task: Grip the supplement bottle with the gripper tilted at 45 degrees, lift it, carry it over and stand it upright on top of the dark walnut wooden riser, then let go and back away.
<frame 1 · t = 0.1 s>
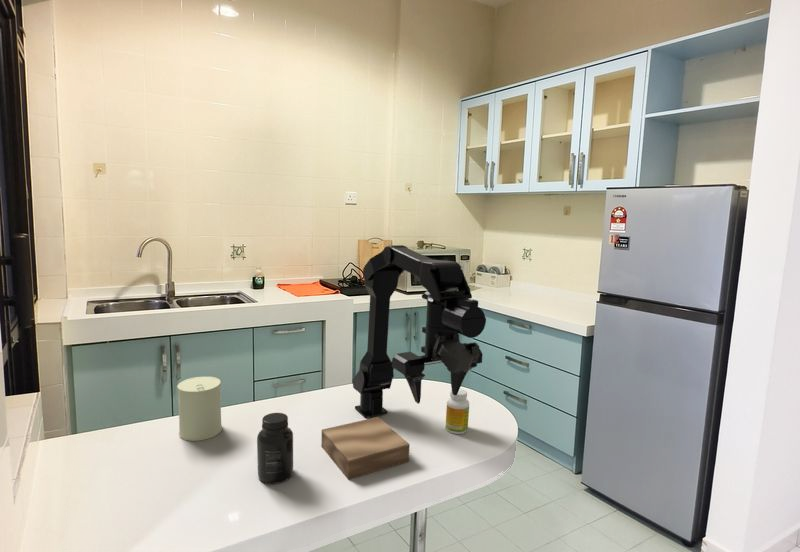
hand: (436, 398, 98), 15 cm above the table, tool pointing down, fingers open, 9 cm apart
supplement bottle: (275, 475, 94), on the table
supplement bottle 2: (456, 430, 116), on the table
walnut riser: (364, 453, 103), on the table
can: (200, 431, 110), on the table
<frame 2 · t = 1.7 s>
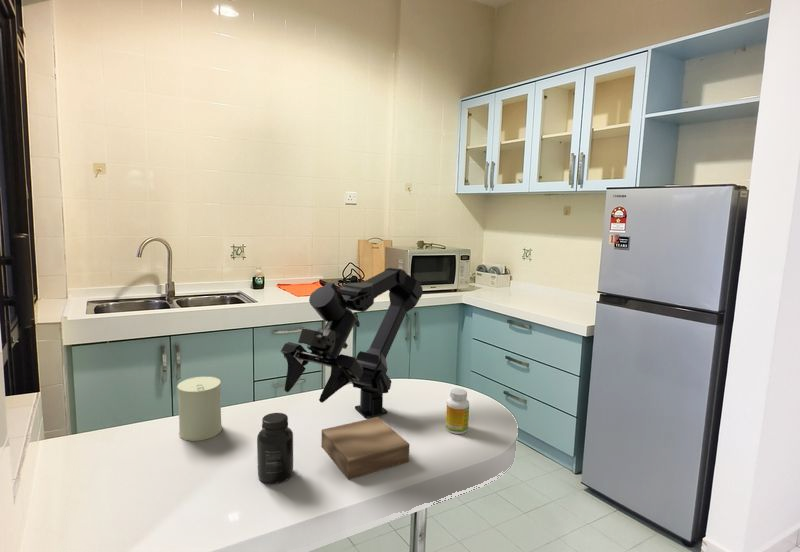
hand: (302, 396, 99), 13 cm above the table, tool tilted 45°, fingers open, 9 cm apart
nothing on the table moved.
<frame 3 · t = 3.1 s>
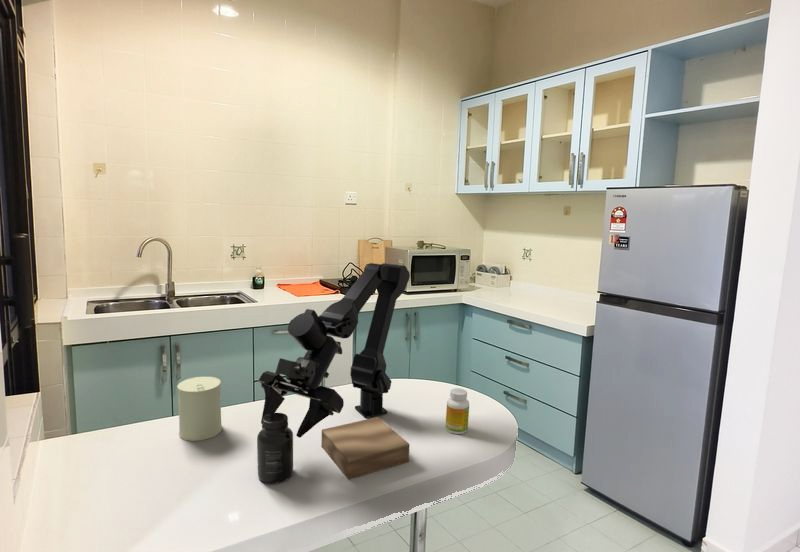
hand: (279, 430, 94), 9 cm above the table, tool tilted 45°, fingers open, 9 cm apart
nothing on the table moved.
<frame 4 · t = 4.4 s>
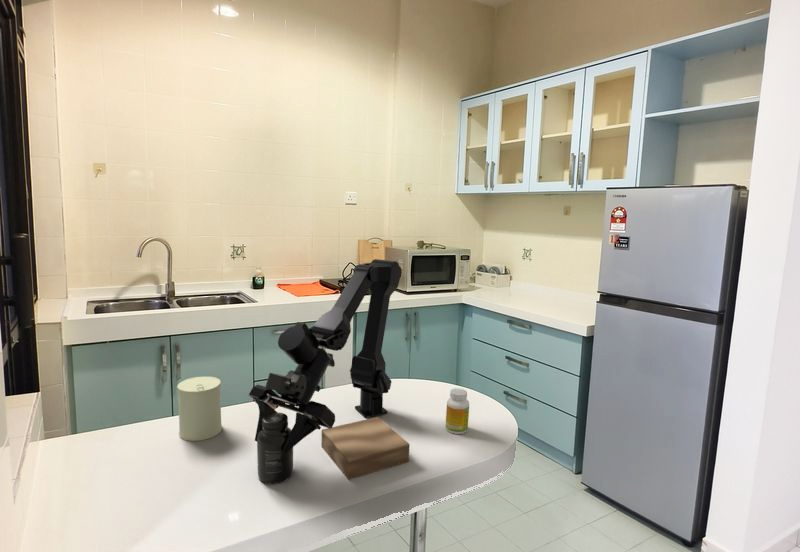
hand: (270, 446, 92), 7 cm above the table, tool tilted 45°, fingers closed on supplement bottle, 7 cm apart
supplement bottle: (275, 475, 94), on the table, touching gripper
everything else where it was.
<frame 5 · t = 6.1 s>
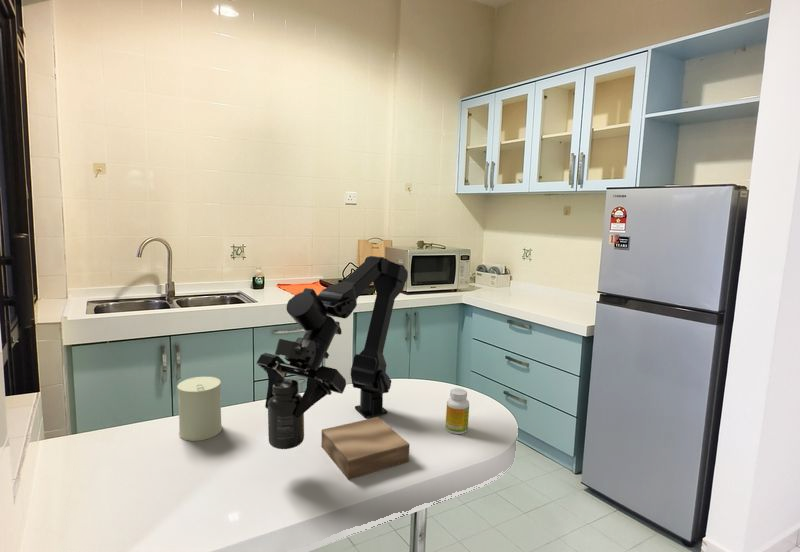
hand: (281, 412, 92), 13 cm above the table, tool tilted 45°, fingers closed on supplement bottle, 7 cm apart
supplement bottle: (286, 442, 94), point 7 cm above the table, touching gripper
everything else where it was.
when the fingers open (12 cm above the table, at t = 8.2 s): supplement bottle drops 1 cm, resting on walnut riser.
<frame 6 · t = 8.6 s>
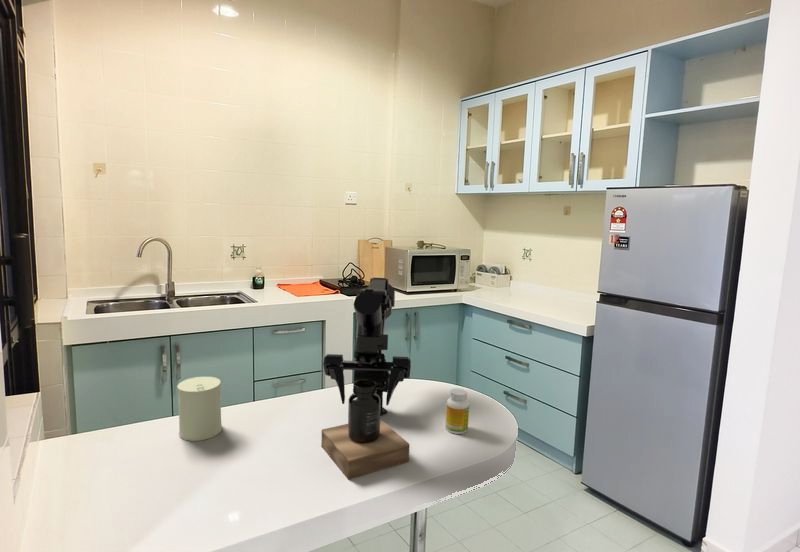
hand: (365, 404, 100), 12 cm above the table, tool tilted 45°, fingers open, 9 cm apart
supplement bottle: (363, 437, 103), point 4 cm above the table, touching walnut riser
everything else where it was.
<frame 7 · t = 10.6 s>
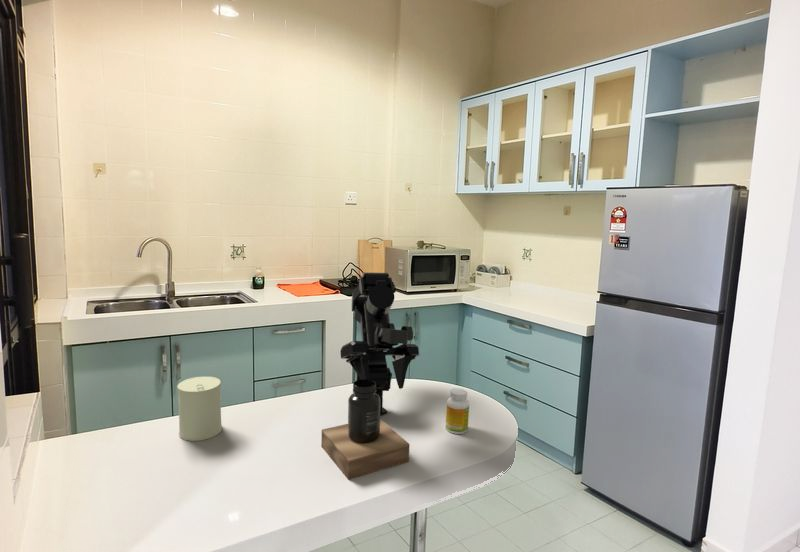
hand: (385, 388, 108), 12 cm above the table, tool tilted 30°, fingers open, 9 cm apart
nothing on the table moved.
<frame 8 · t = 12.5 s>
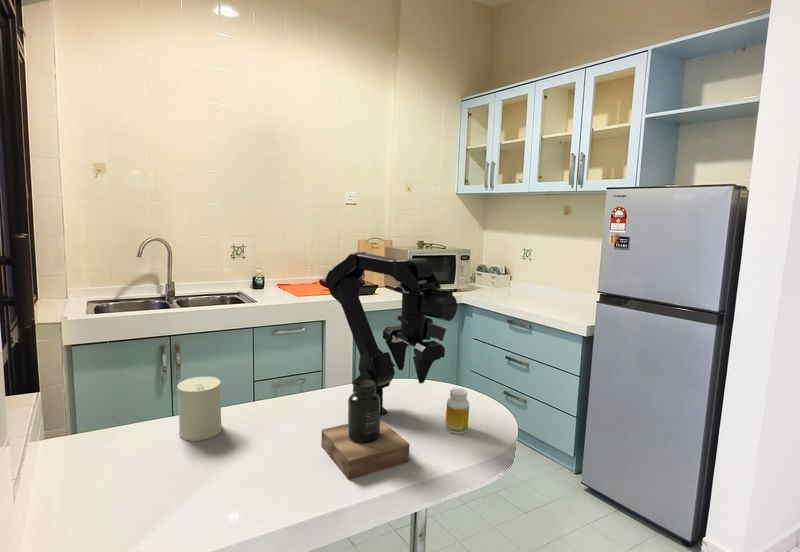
hand: (410, 376, 114), 13 cm above the table, tool pointing down, fingers open, 9 cm apart
nothing on the table moved.
at the end: supplement bottle inside the target area on the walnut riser (0.2 cm from its centre), point 3.8 cm above the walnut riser's base; supplement bottle tilted 0°; the gripper is holding nothing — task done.
